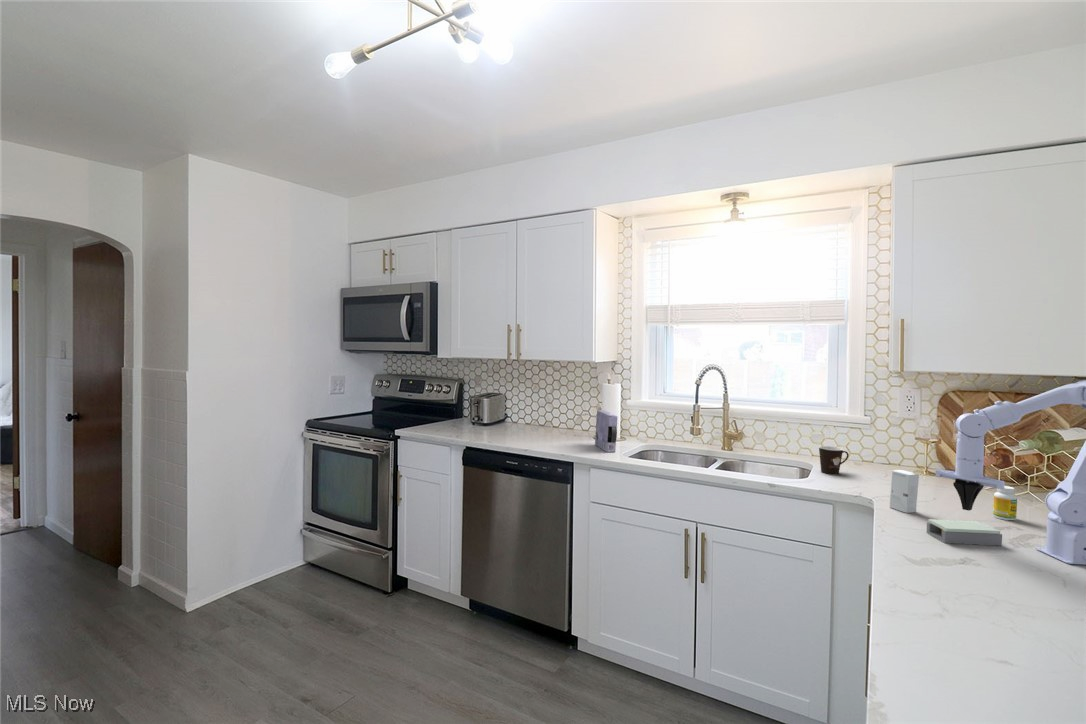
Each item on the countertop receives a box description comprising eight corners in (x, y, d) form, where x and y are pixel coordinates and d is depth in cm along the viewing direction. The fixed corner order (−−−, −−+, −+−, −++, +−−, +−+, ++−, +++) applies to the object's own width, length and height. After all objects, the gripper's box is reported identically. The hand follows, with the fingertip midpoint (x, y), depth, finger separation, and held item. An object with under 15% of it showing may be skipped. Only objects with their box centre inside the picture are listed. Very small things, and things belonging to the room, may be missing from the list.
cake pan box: (617, 453, 245) (618, 415, 244) (607, 453, 244) (608, 415, 243) (604, 445, 264) (604, 410, 263) (594, 445, 263) (595, 410, 262)
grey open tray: (1001, 545, 137) (1002, 534, 137) (944, 543, 138) (945, 531, 138) (980, 535, 144) (980, 524, 144) (926, 532, 146) (926, 522, 146)
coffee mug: (820, 474, 212) (821, 449, 211) (816, 469, 220) (816, 445, 219) (853, 476, 208) (854, 451, 208) (847, 471, 216) (848, 447, 216)
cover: (1000, 533, 137) (1000, 530, 137) (946, 531, 138) (946, 528, 138) (979, 524, 144) (979, 521, 144) (928, 522, 145) (928, 519, 145)
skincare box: (888, 507, 169) (890, 470, 168) (899, 506, 170) (900, 469, 169) (907, 513, 163) (908, 474, 162) (917, 512, 164) (919, 473, 164)
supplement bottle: (996, 514, 164) (997, 483, 163) (1018, 519, 159) (1020, 487, 159) (990, 517, 161) (991, 486, 160) (1012, 522, 156) (1014, 490, 156)
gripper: (1010, 462, 135) (1007, 515, 136) (944, 452, 148) (942, 500, 148) (999, 465, 132) (996, 519, 132) (932, 454, 144) (930, 503, 145)
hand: (967, 509), depth 140 cm, fingers closed
